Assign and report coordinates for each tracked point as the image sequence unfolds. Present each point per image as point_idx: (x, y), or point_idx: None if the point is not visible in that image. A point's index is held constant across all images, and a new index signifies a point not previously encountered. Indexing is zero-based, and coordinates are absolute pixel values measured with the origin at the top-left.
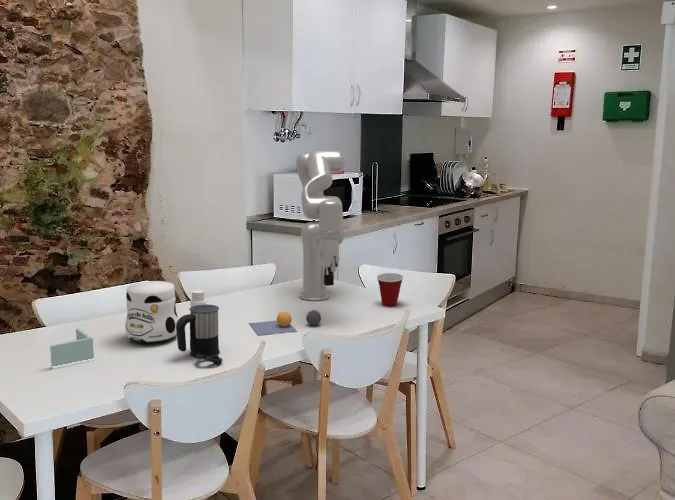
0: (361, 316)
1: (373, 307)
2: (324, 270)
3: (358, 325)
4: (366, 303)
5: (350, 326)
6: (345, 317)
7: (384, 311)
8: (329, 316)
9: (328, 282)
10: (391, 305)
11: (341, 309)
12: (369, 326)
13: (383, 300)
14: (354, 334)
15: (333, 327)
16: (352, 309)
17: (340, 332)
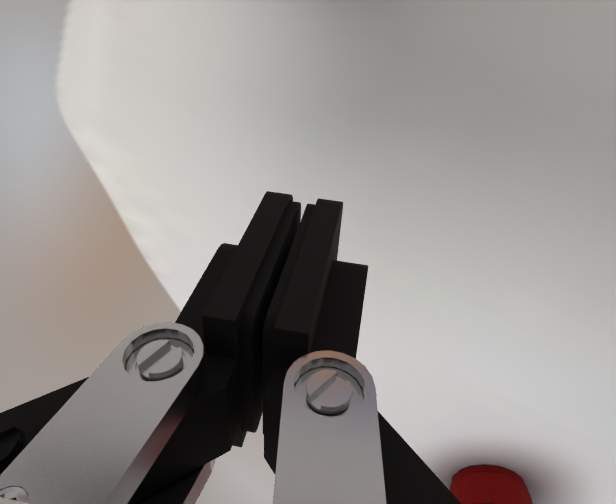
0: (379, 311)
1: (495, 425)
2: (309, 424)
3: (226, 219)
4: (586, 439)
5: (219, 170)
6: (407, 231)
7: (402, 424)
8: (489, 150)
9: (219, 251)
10: (453, 480)
11: (585, 292)
12: (194, 258)
13: (489, 490)
14: (65, 117)
15: (228, 54)
16: (536, 339)
17: (112, 50)
